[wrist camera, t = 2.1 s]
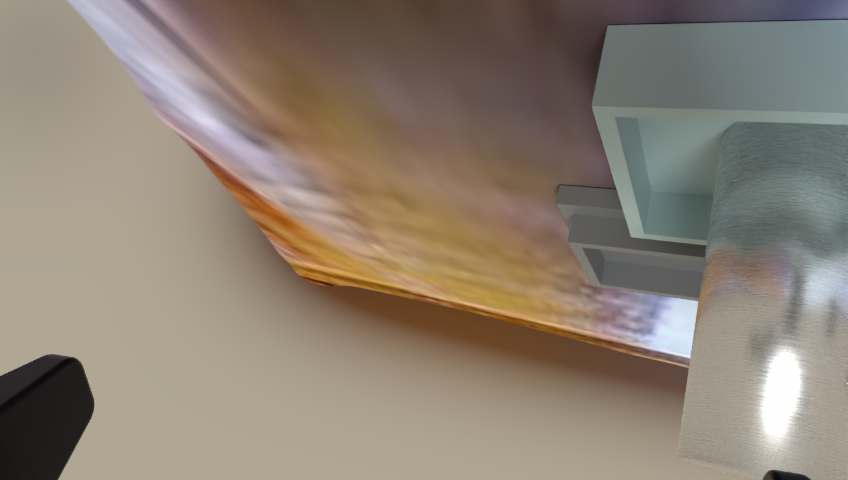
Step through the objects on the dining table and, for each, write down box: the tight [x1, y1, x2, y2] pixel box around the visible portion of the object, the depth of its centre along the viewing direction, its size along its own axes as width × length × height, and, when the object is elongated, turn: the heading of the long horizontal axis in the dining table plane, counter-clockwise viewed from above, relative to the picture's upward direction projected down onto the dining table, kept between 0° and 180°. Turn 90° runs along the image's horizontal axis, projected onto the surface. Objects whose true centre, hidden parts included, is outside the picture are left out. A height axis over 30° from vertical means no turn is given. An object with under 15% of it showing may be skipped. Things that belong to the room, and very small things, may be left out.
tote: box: [591, 20, 848, 245], centre depth 23 cm, size 11×11×3 cm
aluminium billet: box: [677, 121, 848, 480], centre depth 21 cm, size 4×4×11 cm
